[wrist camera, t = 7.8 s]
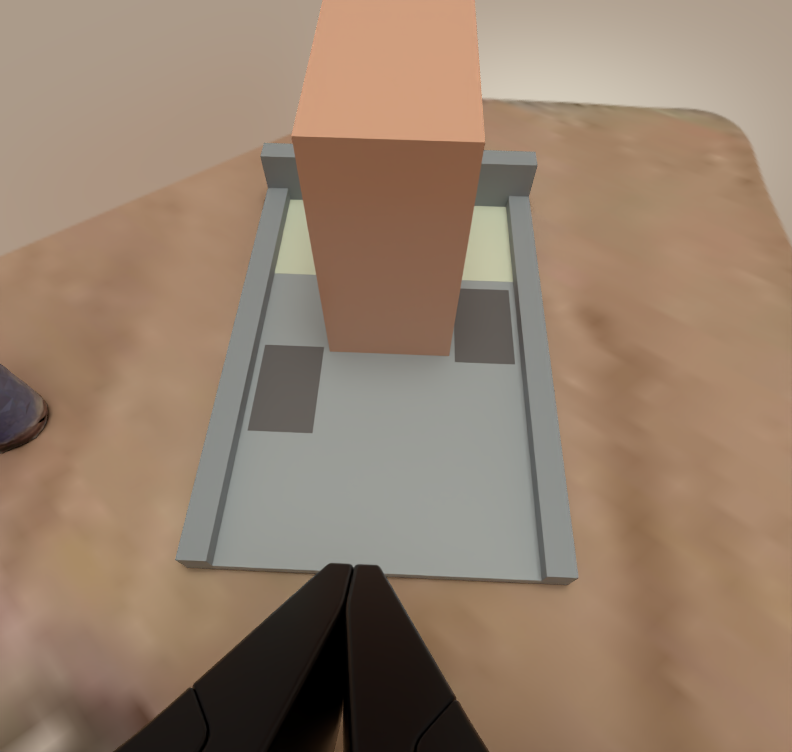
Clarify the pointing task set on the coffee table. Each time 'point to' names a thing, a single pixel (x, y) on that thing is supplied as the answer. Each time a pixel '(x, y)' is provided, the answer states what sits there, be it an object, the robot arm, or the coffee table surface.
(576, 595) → the coffee table surface
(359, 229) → the terracotta block
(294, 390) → the slate lane
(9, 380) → the flask
